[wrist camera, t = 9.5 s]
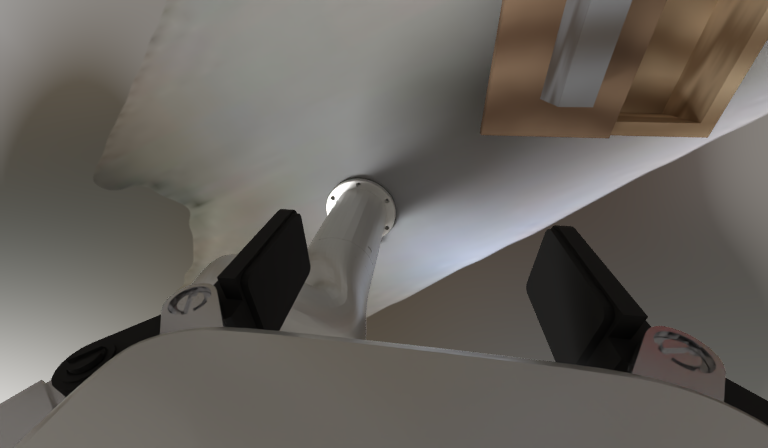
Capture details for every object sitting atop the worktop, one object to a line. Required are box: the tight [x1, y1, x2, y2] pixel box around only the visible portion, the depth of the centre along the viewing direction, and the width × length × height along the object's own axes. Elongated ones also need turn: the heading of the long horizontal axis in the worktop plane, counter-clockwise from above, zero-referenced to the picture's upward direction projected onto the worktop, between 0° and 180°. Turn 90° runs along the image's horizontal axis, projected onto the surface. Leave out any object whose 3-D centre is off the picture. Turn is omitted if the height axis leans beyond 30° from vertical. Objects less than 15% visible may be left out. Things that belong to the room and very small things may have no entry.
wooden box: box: [611, 0, 768, 138], centre depth 30 cm, size 18×14×7 cm
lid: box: [480, 0, 667, 138], centre depth 26 cm, size 18×14×6 cm
